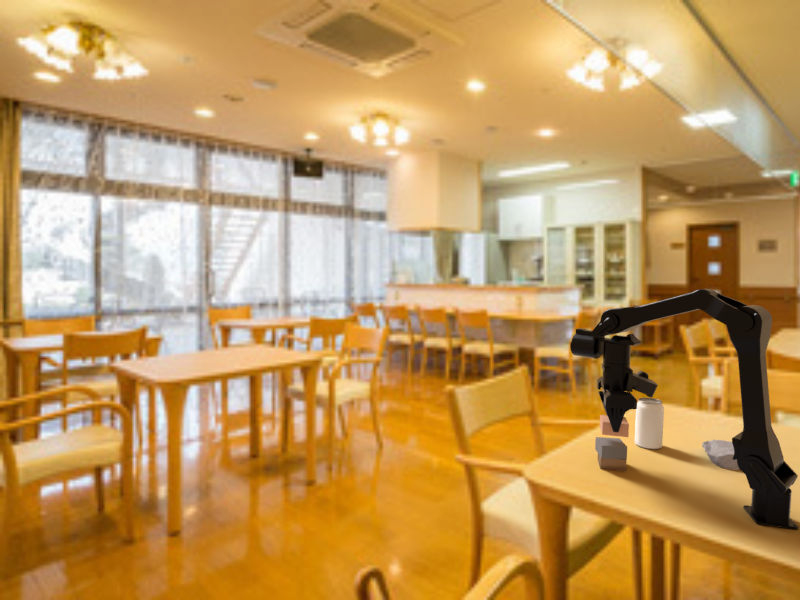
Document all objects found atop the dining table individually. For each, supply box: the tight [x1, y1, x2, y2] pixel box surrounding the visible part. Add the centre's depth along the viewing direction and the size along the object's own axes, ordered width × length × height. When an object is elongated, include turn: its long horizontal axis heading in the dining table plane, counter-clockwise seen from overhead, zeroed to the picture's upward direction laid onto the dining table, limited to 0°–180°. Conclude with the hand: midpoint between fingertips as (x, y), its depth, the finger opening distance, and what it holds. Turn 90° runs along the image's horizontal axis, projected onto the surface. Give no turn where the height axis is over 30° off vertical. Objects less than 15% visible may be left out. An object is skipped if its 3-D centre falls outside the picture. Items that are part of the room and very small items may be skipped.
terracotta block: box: [599, 414, 630, 438], centre depth 112 cm, size 6×6×3 cm
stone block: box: [702, 439, 741, 471], centre depth 117 cm, size 12×5×10 cm
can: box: [634, 397, 665, 450], centre depth 126 cm, size 6×6×12 cm
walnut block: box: [597, 453, 628, 473], centre depth 113 cm, size 6×6×3 cm
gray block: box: [594, 436, 628, 460], centre depth 113 cm, size 6×6×3 cm
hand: (613, 427), depth 112 cm, fingers closed on terracotta block, 5 cm apart
